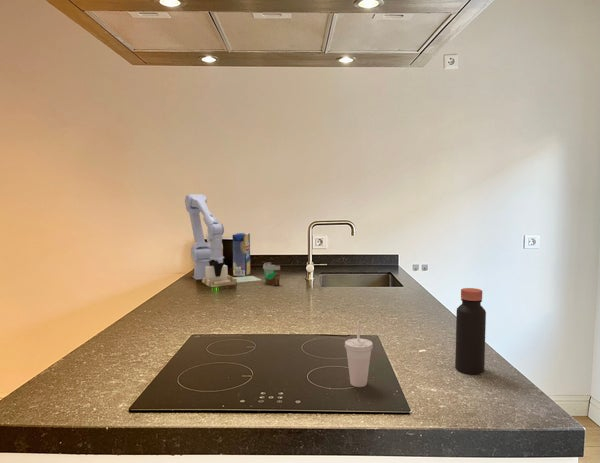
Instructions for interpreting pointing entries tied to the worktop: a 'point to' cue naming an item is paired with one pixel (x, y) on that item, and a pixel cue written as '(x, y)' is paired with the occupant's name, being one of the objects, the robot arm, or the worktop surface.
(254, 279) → the board
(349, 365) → the smoothie
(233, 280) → the rack
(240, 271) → the beverage box
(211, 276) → the beige rectangular block
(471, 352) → the bottle
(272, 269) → the food container
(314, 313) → the worktop surface
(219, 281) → the offcut upper
